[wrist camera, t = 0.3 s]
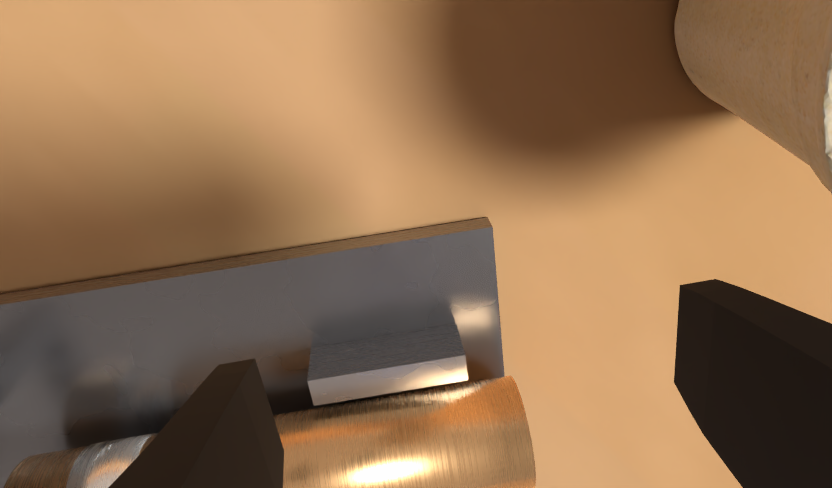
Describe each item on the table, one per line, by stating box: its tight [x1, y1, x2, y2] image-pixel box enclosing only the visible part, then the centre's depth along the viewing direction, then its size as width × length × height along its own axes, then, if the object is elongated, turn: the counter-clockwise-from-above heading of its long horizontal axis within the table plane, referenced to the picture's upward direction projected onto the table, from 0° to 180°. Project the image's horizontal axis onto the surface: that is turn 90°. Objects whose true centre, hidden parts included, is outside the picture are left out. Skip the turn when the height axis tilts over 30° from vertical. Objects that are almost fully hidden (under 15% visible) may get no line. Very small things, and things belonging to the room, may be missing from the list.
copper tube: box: [4, 376, 536, 488], centre depth 20 cm, size 16×4×4 cm, turn 97°
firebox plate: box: [0, 217, 504, 488], centre depth 21 cm, size 13×27×3 cm, turn 97°
